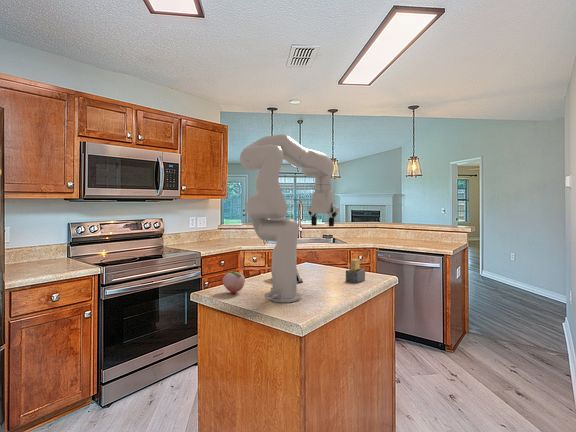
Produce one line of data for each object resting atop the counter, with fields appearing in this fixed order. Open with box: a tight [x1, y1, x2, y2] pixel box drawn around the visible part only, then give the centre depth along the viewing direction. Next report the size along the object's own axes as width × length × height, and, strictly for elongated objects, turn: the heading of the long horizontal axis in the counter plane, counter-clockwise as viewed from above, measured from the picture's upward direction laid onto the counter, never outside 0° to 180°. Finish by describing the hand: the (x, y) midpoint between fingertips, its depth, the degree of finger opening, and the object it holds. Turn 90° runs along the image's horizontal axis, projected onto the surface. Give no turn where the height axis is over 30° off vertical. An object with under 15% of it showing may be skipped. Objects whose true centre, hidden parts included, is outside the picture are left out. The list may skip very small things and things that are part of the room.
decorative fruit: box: [222, 268, 246, 294], centre depth 140 cm, size 9×8×10 cm
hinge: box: [270, 265, 304, 285], centre depth 161 cm, size 17×5×10 cm, turn 44°
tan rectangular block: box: [350, 258, 361, 271], centre depth 160 cm, size 4×2×10 cm, turn 142°
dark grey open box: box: [345, 268, 366, 284], centre depth 160 cm, size 8×6×5 cm
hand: (322, 225), depth 157 cm, fingers open, 9 cm apart
